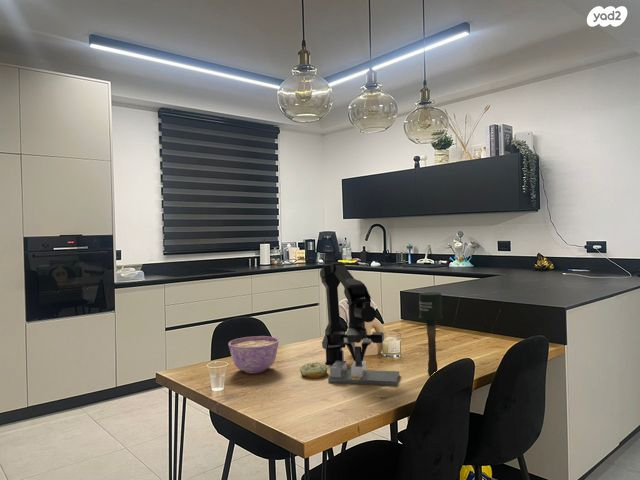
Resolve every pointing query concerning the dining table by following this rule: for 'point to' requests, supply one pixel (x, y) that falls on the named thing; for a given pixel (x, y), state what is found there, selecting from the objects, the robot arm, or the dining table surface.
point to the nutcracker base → (371, 377)
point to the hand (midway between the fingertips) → (358, 360)
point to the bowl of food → (254, 353)
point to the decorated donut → (313, 370)
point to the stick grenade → (431, 323)
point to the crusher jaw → (358, 364)
